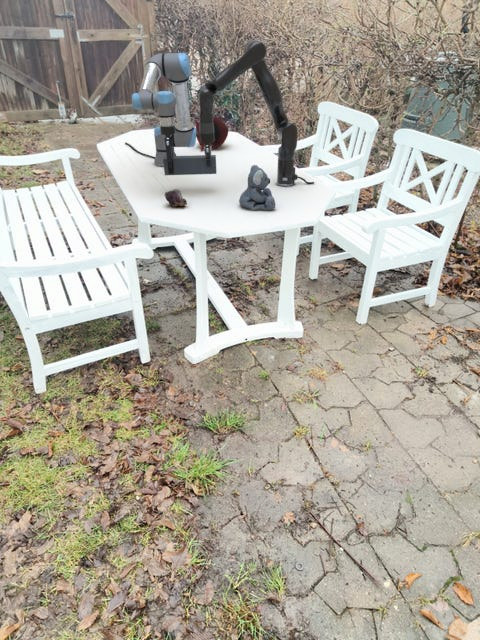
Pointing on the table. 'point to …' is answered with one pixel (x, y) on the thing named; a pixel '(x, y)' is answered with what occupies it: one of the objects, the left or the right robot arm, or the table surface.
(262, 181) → the koala plush
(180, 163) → the bar
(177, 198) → the rock
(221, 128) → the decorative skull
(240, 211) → the table surface
